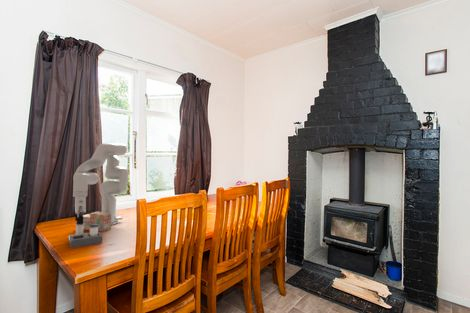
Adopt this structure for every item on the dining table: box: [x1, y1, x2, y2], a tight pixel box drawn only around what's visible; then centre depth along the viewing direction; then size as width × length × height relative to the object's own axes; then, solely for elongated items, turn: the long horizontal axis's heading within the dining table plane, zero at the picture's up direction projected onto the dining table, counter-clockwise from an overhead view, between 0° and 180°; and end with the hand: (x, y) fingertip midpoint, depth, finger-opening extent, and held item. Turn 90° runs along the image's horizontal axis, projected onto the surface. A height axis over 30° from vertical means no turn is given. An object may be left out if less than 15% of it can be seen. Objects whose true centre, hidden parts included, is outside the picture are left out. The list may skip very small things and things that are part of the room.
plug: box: [75, 221, 85, 235], centre depth 151 cm, size 4×4×10 cm
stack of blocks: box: [83, 211, 112, 232], centre depth 169 cm, size 21×6×12 cm, turn 70°
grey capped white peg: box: [89, 223, 99, 237], centre depth 144 cm, size 4×4×10 cm
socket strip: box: [69, 231, 103, 249], centre depth 142 cm, size 15×9×6 cm, turn 127°
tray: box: [67, 232, 88, 242], centre depth 151 cm, size 11×9×2 cm
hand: (79, 222), depth 150 cm, fingers open, 9 cm apart
